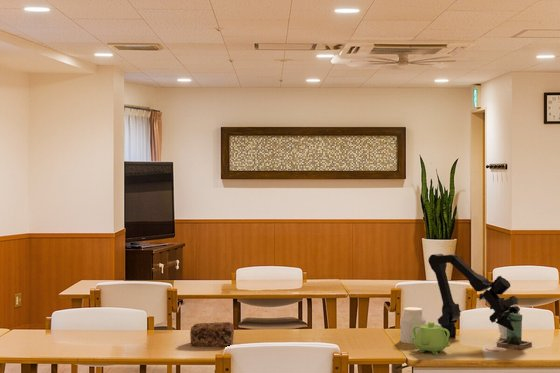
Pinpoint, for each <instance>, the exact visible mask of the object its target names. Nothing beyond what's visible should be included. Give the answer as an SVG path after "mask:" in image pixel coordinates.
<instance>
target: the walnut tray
mask: <svg viewBox="0 0 560 373" xmlns="http://www.w3.org/2000/svg"><path fill="white" fill-rule="evenodd" d="M532 346H533V342H532V341H525V340H521V344H517V345H515V344H508V343H506V339H503V340H500V341H498V342H496V347H498V348H504V349H512V350H516V351H521V350H524V349H528V348H530V347H531V348H532Z"/></svg>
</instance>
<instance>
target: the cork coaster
mask: <svg viewBox="0 0 560 373" xmlns="http://www.w3.org/2000/svg"><path fill="white" fill-rule="evenodd" d="M484 350H485V351H488V352H492V353H493V352H494V353H495V352H496V353H502V352H506V351H507V348H504V347H498V346H495V347H494V346H493V347H492V346H491V347H485V348H484Z"/></svg>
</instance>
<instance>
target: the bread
mask: <svg viewBox="0 0 560 373" xmlns="http://www.w3.org/2000/svg"><path fill="white" fill-rule="evenodd" d="M234 333H235V328H234V323H232V322H228V321H226V322H225V321H221V322H216V321H215V322H214V321H213V322H203V323H202V322H201V323H195V324H193V325H192V326H191V327H190V333H189V335H190V344H191V347H199V348H200V347H204V348H205V347H207V348H209V347H212V348H213V347H220V348H221V347H225V348H226V347H229V346H228V345H231V346H233V344H234V337H235V336H234Z"/></svg>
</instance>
